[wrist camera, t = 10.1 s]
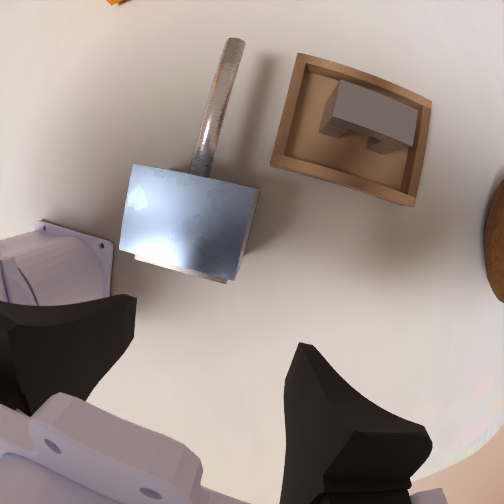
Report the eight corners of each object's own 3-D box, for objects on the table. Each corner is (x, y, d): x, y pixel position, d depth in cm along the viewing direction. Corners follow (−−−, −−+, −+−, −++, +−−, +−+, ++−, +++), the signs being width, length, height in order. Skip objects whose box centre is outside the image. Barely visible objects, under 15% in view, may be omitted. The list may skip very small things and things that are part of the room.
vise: (154, 243, 22) (117, 262, 16) (198, 61, 19) (176, 25, 13) (241, 266, 22) (230, 294, 16) (288, 75, 19) (293, 39, 13)
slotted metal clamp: (318, 132, 19) (332, 116, 14) (325, 102, 18) (340, 79, 14) (382, 154, 19) (412, 146, 14) (388, 125, 18) (418, 110, 13)
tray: (270, 166, 20) (270, 163, 18) (295, 64, 18) (297, 52, 16) (401, 205, 20) (413, 207, 18) (419, 107, 18) (431, 101, 16)
